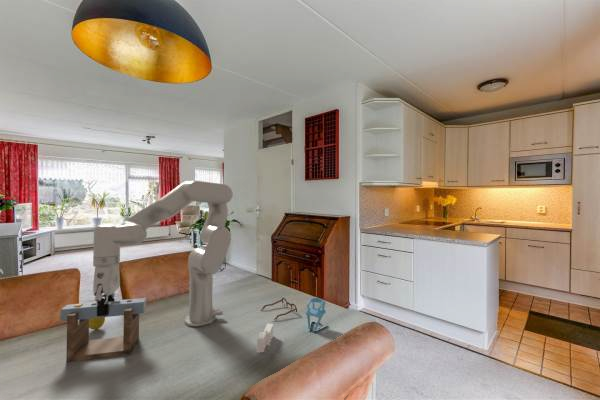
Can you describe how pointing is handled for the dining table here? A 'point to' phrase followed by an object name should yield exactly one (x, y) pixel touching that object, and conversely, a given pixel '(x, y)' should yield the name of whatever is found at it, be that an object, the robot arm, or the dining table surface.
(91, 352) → the rack
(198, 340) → the dining table surface
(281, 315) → the glasses
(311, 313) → the chair
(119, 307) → the power strip
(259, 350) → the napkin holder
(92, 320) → the lemon
